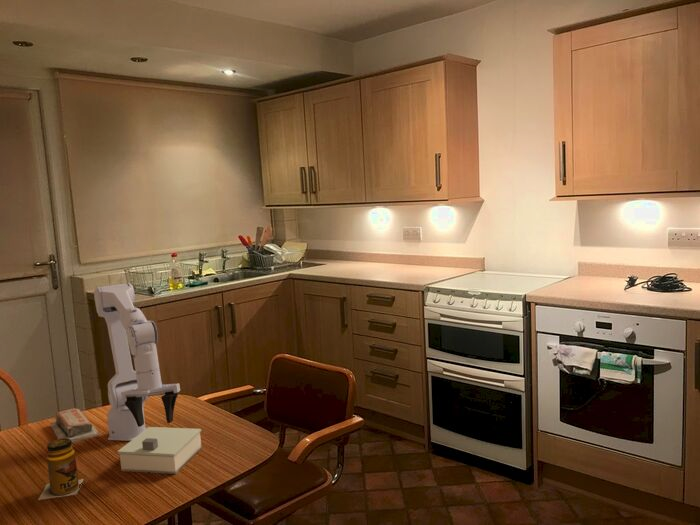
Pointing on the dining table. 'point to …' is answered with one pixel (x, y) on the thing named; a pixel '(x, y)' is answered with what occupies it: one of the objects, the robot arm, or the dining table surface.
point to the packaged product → (73, 425)
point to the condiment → (61, 470)
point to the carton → (160, 460)
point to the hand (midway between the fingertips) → (155, 423)
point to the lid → (160, 441)
